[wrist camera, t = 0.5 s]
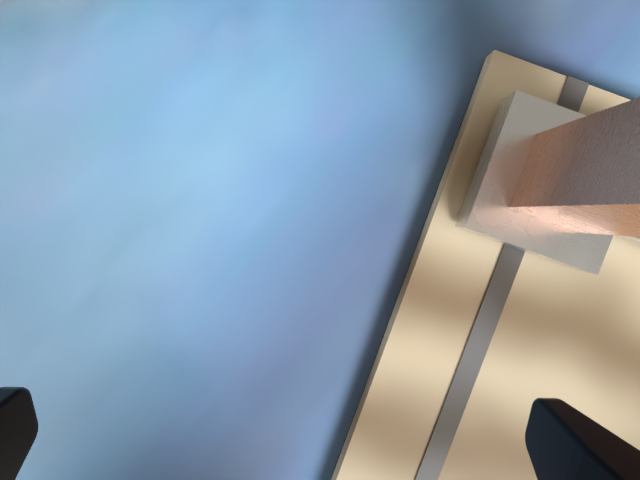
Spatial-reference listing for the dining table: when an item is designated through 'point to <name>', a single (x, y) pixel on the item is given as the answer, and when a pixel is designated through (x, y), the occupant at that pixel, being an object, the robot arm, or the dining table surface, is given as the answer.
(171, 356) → the dining table surface
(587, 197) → the slider
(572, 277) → the press base
